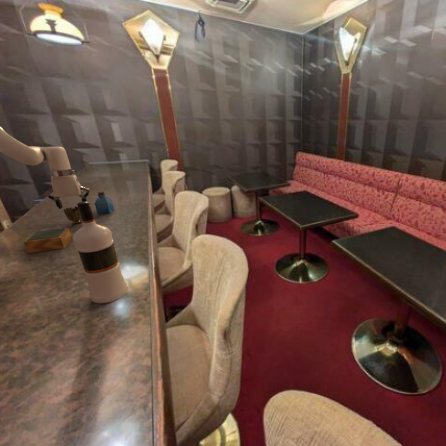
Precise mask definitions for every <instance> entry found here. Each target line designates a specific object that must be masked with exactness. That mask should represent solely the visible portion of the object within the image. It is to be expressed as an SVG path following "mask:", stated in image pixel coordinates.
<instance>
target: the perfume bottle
mask: <svg viewBox="0 0 446 446" xmlns="http://www.w3.org/2000/svg"><path fill="white" fill-rule="evenodd" d="M97 197H98V198H96V199H95V202H94V207H95V209H96V213H97V215H107V214H108V215H109V214H111V213H113V212H114V211H115V208H114V204H113V200H112V199H111V198H110V197H109V196H106V193H105V191H97Z"/></svg>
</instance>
